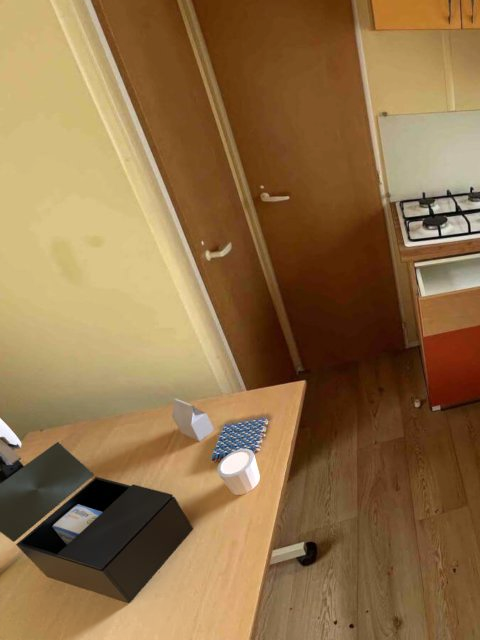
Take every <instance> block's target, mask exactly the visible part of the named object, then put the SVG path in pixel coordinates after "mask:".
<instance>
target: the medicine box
mask: <svg viewBox="0 0 480 640" xmlns="http://www.w3.org/2000/svg"><path fill="white" fill-rule="evenodd" d="M101 513H102V512H101V511H97V510H94V509H91V508H88V507H85V506H82V505H79V504H78V505H76V506H75V507H74V508H73V509H71V510H70V511H69V512H68V513H66V514H65V515H64V516H63V517H62V518H61V519H59V520H58V521H57V522H56V523H55V524H54V525H53V526H52V527H53V528H54V530H55V531H56V532H57V533H58V535H59V536H60V537H61V538H62V540H63V541H64V542H65V543H66V545H68V544H69V543H70V542H71V541H72V540H73V539H74V538H75V537H76V536H78V535H79V534H80V533H81V532H82V531H83V530H84V529H85V528H86V527H87V526H88V525H89V524H90V523H92V522H93V521H94V520H95V519H96V518H97V517H98V516H99V515H100V514H101Z"/></svg>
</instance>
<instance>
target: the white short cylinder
mask: <svg viewBox="0 0 480 640" xmlns="http://www.w3.org/2000/svg"><path fill="white" fill-rule="evenodd" d="M216 473H217V474H218V476H219V477H220V479H221V480H222V481H223V483H224V484H225V485H226V487H227V488H228V490H229V491H230V492H231V494H232V495H235V496H242V495H245V494H248V493H250V492H251V491H252V490H254V489H255V487H256V486H257V485H258V483H260V477H261V476H260V471H259V468H258V463H257V460H256V456H255V453H253V452H252V450H249V449H239V450H236V451H233V452H232V453H230V454H228V455H227V456H226V457H225V458H224V459H222V460H220V461H219V464H218V465H217V469H216Z"/></svg>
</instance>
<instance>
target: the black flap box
mask: <svg viewBox="0 0 480 640" xmlns="http://www.w3.org/2000/svg"><path fill="white" fill-rule="evenodd" d="M78 504H79V505H82V506H85V507H88V508H91V509H94V510H97V511H101V512H102V513H101V514H100V515H99V516H98V517H97V518H96V519H95V520H94V521H93V522H92V523H90V524H89V525H88V526H87V527H86V528H85V529H84V530H83V531H82V532H81V533H80V534H79V535H78V536H76V537H75V538H74V539H73V540H72V541H71V542H70V543H69V544H68V545H66V543H65V542H64V541H63V540H62V538H61V537H60V536H59V535H58V533H57V532H56V531H55V530H54V528H53V527H52V526H53V525H54V524H55V523H56V522H57V521H58V520H59V519H61V518H62V517H63V516H64V515H65V514H66V513H68V512H69V511H70V510H71V509H73V508H74V507H75V506H76V505H78ZM193 531H194V527H193V525H192V524H191V522H190V520H189V518H188V517H187V516H186V514H185V512H184V511H183V508H182V507H181V506H180V503H179V502H178V501H177V499H176V497H175V496H174V495H173V494H172V493H168V492H165V491H160V490H157V489H153V488H150V487H145V486H141V485H136V484H131V485H130V484H126V483H122V482H120V481H119V482H118V481H115V480H111V479H106V478H103V477H99V476H95V477H94V478H92V480H90V481H89V482H88V483H87V484H85V486H83V487H82V488H81V489H80V490H78V492H76V493H75V494H74V495H73V496H71V498H69V499H68V500H67V501H65V502H64V503H63V504H62V505H61V506H59V508H57V509H56V510H54V512H52V513H51V514H50V515H49V516H47V518H46V519H44V520H43V521H42V522H40V523H39V525H37V526H36V527H35V528H34V529H33V530H31V531H30V532H29V533H27V534H26V535H25V536H24V537H23V538H21V540H20V541H18V542H17V543H16V544H15V545H16V546H17V547H18V548H19V550H21V552H22V553H23V554H24V555H25V556H26V557H27V558H28V559H29V560H30V561H31V562H32V563H33V564H34V565H35V566H36V567H37V568H38V569H39V571H40V572H42V573H43V574H44V576H45V577H47V578H49V579H53V580H56V581H58V582H62V583H65V584H68V585H71V586H74V587H77V588H81V589H83V590H87V591H90V592H92V593H96V594H98V595H102V596H105V597H108V598H111V599H113V600H118V601H120V602H123V603H127V604H131V602H133V600H134V599H135V598H136V597H137V595H138V594H139V593H140V592H141V591H142V590H143V588H145V586H146V585H147V584H148V583H149V582H150V581H151V579H152V578H153V577H154V576H155V575H156V574H157V572H158V571H160V569H161V568H162V566H163V565H165V563H166V562H167V561H168V560H169V558H170V557H171V556H172V555H173V554H174V552H176V550H177V549H179V547H180V545H181V544H182V543H183V542H184V541H185V540H186V538H188V537H189V535H190V534H191V533H192V532H193Z"/></svg>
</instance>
